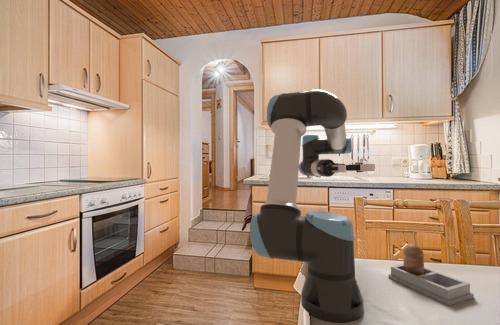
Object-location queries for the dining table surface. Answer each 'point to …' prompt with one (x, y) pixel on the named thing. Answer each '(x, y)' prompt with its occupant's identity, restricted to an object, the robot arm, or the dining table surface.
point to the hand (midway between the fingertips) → (360, 168)
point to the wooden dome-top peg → (413, 259)
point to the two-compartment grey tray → (433, 285)
